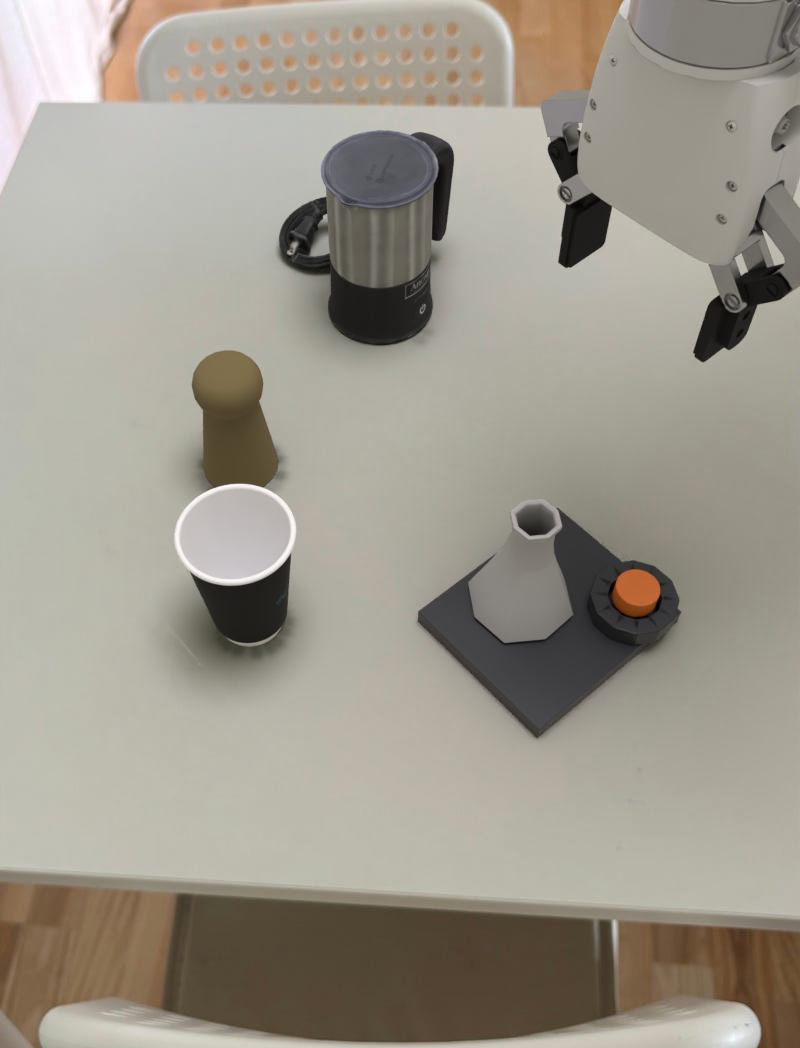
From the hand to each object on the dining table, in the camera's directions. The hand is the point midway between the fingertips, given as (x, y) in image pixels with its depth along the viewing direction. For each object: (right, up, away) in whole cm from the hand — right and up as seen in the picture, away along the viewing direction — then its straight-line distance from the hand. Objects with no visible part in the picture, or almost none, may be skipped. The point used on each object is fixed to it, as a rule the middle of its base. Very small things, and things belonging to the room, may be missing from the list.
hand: (646, 299), depth 61 cm
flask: (-4, -17, +18) cm, 25 cm away
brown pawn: (-24, -7, +28) cm, 37 cm away
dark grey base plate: (-2, -19, +18) cm, 26 cm away
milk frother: (-15, +10, +38) cm, 43 cm away
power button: (+4, -17, +16) cm, 24 cm away
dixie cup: (-23, -19, +20) cm, 36 cm away
